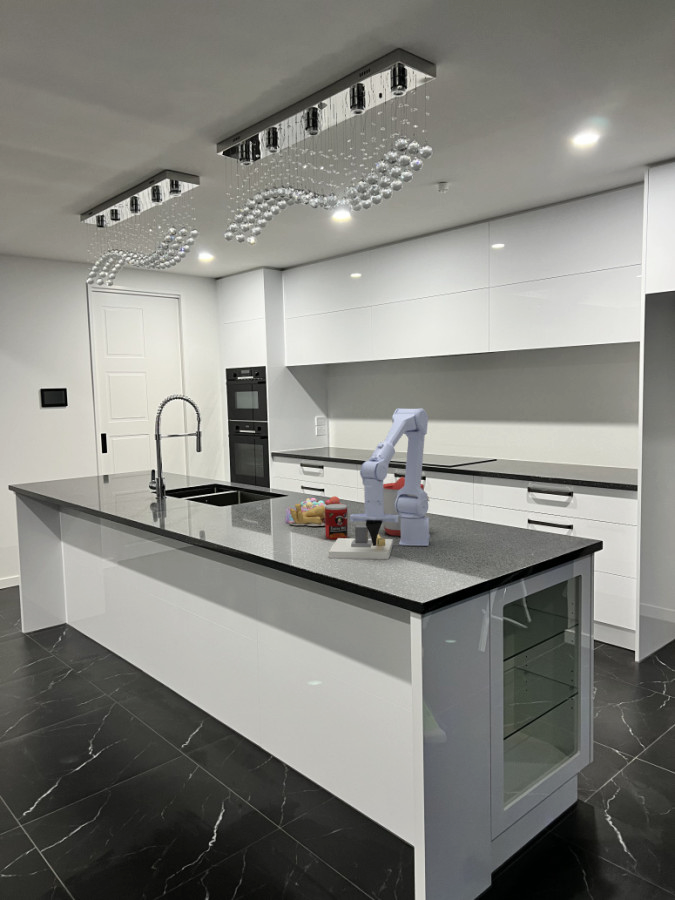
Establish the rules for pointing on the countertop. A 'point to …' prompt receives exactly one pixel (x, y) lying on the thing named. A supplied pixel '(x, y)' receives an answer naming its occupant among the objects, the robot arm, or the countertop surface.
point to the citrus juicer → (393, 505)
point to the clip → (380, 541)
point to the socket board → (360, 550)
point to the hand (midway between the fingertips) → (374, 545)
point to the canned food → (336, 521)
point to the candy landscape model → (309, 512)
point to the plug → (361, 537)
